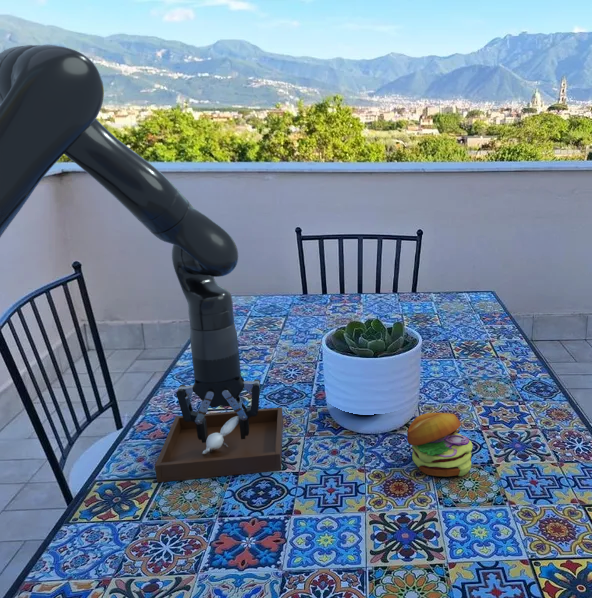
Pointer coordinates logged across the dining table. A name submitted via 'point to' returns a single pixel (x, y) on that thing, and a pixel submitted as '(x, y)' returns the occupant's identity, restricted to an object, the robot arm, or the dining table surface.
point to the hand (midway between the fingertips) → (224, 438)
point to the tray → (222, 448)
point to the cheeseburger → (439, 445)
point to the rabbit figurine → (220, 435)
